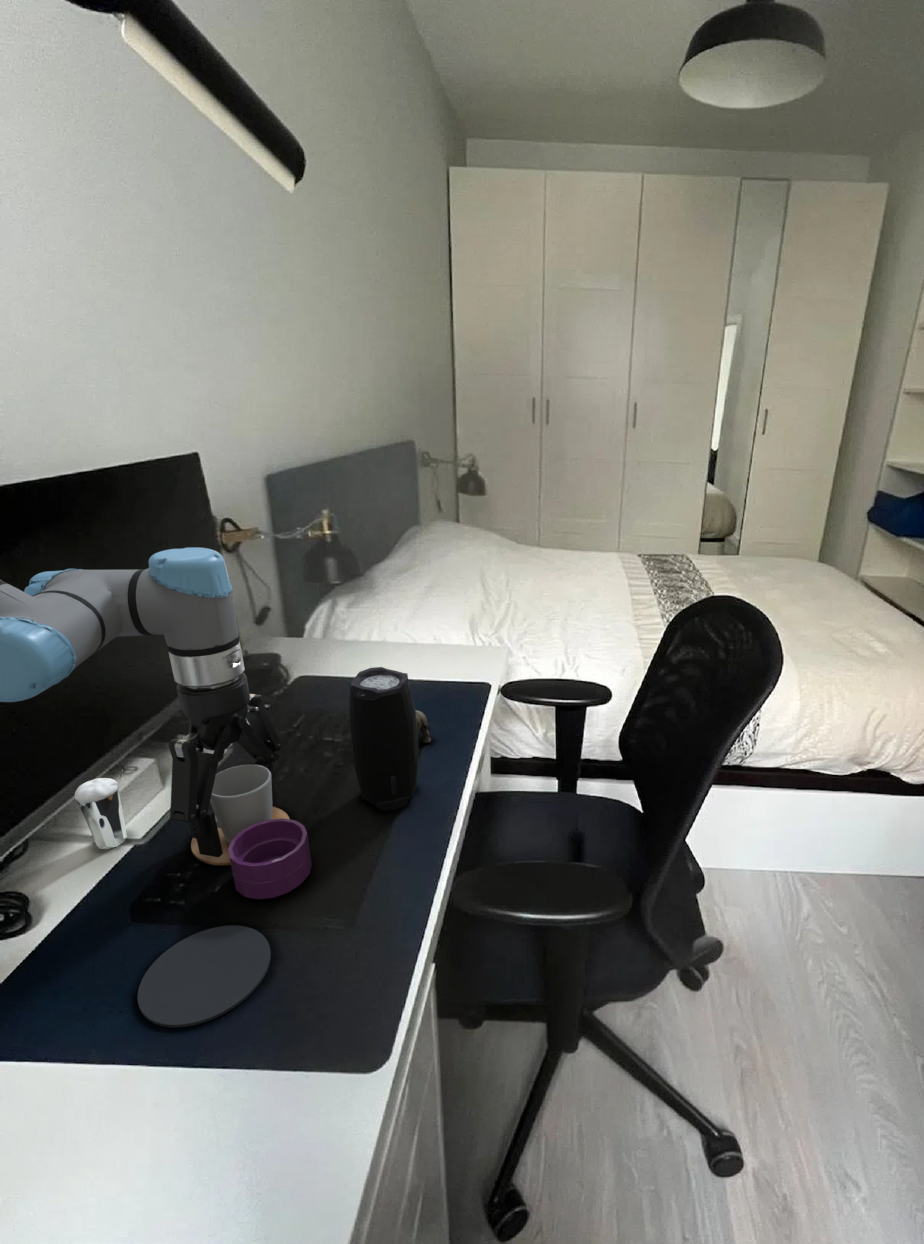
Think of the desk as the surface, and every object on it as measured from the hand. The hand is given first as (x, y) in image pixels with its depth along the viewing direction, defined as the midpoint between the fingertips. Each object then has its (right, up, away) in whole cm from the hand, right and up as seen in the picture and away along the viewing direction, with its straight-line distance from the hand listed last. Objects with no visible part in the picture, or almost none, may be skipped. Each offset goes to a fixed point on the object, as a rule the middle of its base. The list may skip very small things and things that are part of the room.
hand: (240, 826), depth 84 cm
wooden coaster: (0, -1, +1) cm, 1 cm away
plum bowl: (+8, -4, -6) cm, 11 cm away
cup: (0, -1, 0) cm, 1 cm away
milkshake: (-16, -2, -1) cm, 16 cm away
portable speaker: (+17, +2, +10) cm, 20 cm away
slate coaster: (+7, -10, -19) cm, 23 cm away
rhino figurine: (+14, +9, +27) cm, 31 cm away
